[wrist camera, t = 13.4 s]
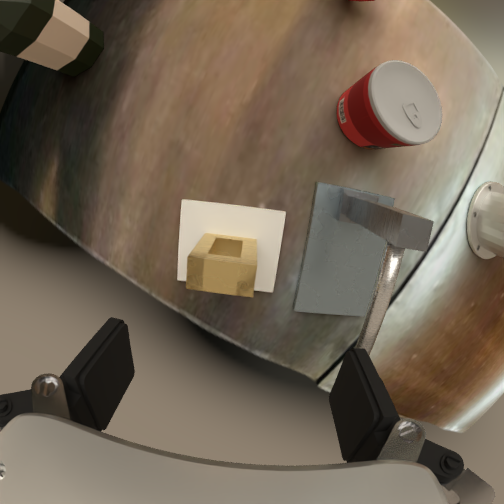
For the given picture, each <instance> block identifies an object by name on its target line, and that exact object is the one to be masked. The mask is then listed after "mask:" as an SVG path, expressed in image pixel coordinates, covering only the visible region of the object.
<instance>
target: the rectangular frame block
mask: <svg viewBox="0 0 504 504" xmlns="http://www.w3.org/2000/svg"><path fill="white" fill-rule="evenodd" d="M256 271H257V239H252V238H244V237H236V236H228V235H220V234H211V233H205V234H204V235H203V237H202V238H201V239H200V241H199V242H198V243H197V245H196V246H195V247H194V249H193V250H192V251H191V253H190V254H189V255H188V257H187V275H186V289H193V290H200V291H207V292H214V293H222V294H230V295H238V296H246V297H253V292H254V285H255V278H256Z"/></svg>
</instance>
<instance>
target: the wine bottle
mask: <svg viewBox="0 0 504 504" xmlns="http://www.w3.org/2000/svg"><path fill="white" fill-rule="evenodd" d="M103 49H104V40H103V32H102V31H101V30H99V29H98V28H97V27H95V26H94V25H93V24H91V23H90V22H89V21H87V20H86V19H85V18H83V17H82V16H80V15H79V14H78V13H76V12H75V11H73V10H72V9H71V8H69V7H68V6H66V5H65V4H63V3H62V2H60V1H59V0H0V52H3V53H7V54H10V55H13V56H16V57H20V58H23V59H26V60H29V61H32V62H35V63H38V64H40V65H43V66H46V67H49V68H52V69H54V70H57V71H60V72H62V73H65V74H67V75H70V76H72V77H75V76H76V75H78V74H80V73H81V72H83V71H85V70H87V69H89V68H91V67H92V65H93V64H94V62H95V60H96V59H97V57H98V56H99V54H100V53H101V52H102V50H103Z"/></svg>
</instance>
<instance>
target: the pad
mask: <svg viewBox="0 0 504 504" xmlns="http://www.w3.org/2000/svg"><path fill="white" fill-rule="evenodd" d="M285 216H286V212H285V211H278V210H270V209H263V208H255V207H247V206H239V205H231V204H222V203H213V202H204V201H195V200H185V199H183V200H182V205H181V218H180V233H179V251H178V277H177V280H181V281H186V275H187V257H188V255H189V254H190V253H191V251H192V250H193V249H194V247H195V246H196V245H197V243H198V242H199V241H200V239H201V238H202V237H203V235H204V234H205V233H211V234H220V235H228V236H236V237H244V238H252V239H257V271H256V278H255V285H254V290H256V291H264V292H273V289H274V283H275V277H276V271H277V266H278V260H279V253H280V247H281V241H282V235H283V229H284V222H285Z"/></svg>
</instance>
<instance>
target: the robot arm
mask: <svg viewBox="0 0 504 504" xmlns="http://www.w3.org/2000/svg"><path fill="white" fill-rule="evenodd" d="M467 235H468V240H469V244H470V246H471V249H472V250H473V252H474V253H475V254H476V255H477V256H479V257H481V258H483V259H491V258H493V257H495V256H496V255H498V256H500V257H502V258H504V187H503V186H502V185H501V184H499V183H497V182H491V181H490V182H486V183H484V184H482V185H481V186H480V187H479V188H478V190H477V191H476V192H475V194H474V196H473V198H472V201H471V204H470V207H469V212H468V218H467ZM133 377H134V364H133V359H132V353H131V347H130V340H129V332H128V326H127V324H125V323H124V321H123V320H120V319H116V318H112V317H111V318H109V319H108V321H107V322H106V323H105V324H104V325H103V326H102V327H101V329H100V330H99V331H98V332H97V333H96V334H95V335H94V336H93V338H92V339H91V340H90V341H89V342H88V343H87V345H86V346H85V347H84V348H83V349H82V350H81V352H80V353H79V354H78V355H77V356H76V357H75V359H74V360H73V361H72V362H71V364H70V365H69V366H68V367H67V369H66V370H65V371H64V372H63V373H62V375H61V376H60V377H58V376H56V375H54V374H43V375H40V376H38V377H37V378H36V379H35V380H34V381H33V383H32V387H31V389H30V390H25V391H20V392H15V393H9V394H3V395H0V504H492V502H493V500H494V498H495V492H494V489H493V488H492V487H491V486H490V485H489V484H488V483H486V482H485V481H484V480H483V479H481V478H480V477H479V476H477V475H476V474H475V473H474V472H472V471H471V470H470V469H469V468H467V469H466V470H465V469H464V464H463V460H462V458H461V456H460V455H459V454H457V453H456V452H454V451H451V450H449V449H447V448H444V447H442V446H440V445H437V444H435V443H433V442H431V441H429V440H427V439H425V437H426V432H425V429H424V427H423V426H422V425H421V424H420V423H419V422H417V421H416V420H413V419H402V420H400V418H399V415H398V413H397V411H396V409H395V407H394V405H393V402H392V400H391V398H390V396H389V394H388V392H387V390H386V388H385V386H384V383H383V381H382V380H381V378H380V377H379V375H378V373H377V371H376V369H375V367H374V365H373V363H372V361H371V359H370V357H369V355H368V353H367V351H366V349H365V348H352V349H351V350H350V351H347V352H346V355H345V357H344V360H343V363H342V365H341V368H340V370H339V373H338V375H337V378H336V380H335V383H334V385H333V388H332V390H331V393H330V396H329V402H330V406H331V410H332V414H333V419H334V423H335V427H336V431H337V436H338V440H339V444H340V449H341V453H342V458H343V460H344V461H345V460H347V463H342V464H328V465H306V466H305V465H304V466H276V465H255V464H242V463H232V462H224V461H216V460H209V459H202V458H197V457H191V456H186V455H181V454H176V453H171V452H167V451H163V450H159V449H155V448H151V447H147V446H143V445H140V444H137V443H133V442H130V441H127V440H124V439H121V438H118V437H115V436H112V435H109V434H106V433H103V432H101V431H102V430H105V429H106V428H107V426H108V424H109V422H110V420H111V418H112V416H113V414H114V412H115V410H116V409H117V407H118V405H119V403H120V401H121V399H122V397H123V395H124V394H125V392H126V390H127V388H128V386H129V384H130V382H131V381H132V379H133Z"/></svg>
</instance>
